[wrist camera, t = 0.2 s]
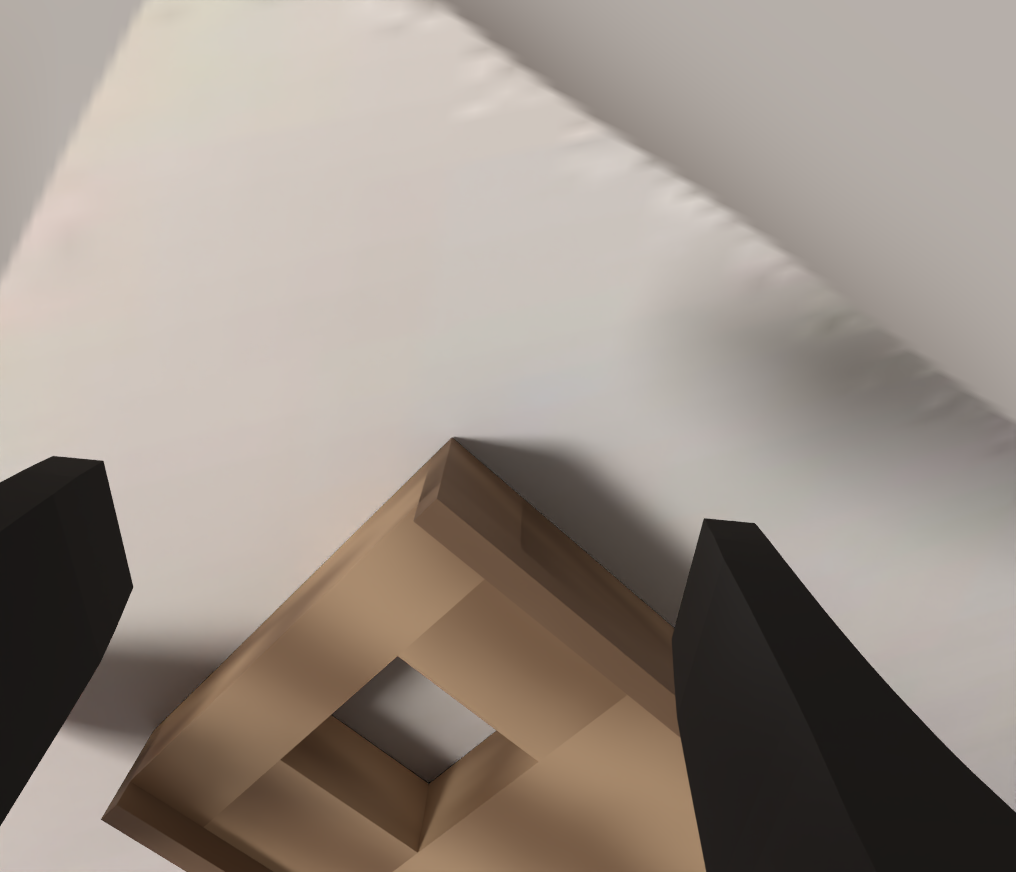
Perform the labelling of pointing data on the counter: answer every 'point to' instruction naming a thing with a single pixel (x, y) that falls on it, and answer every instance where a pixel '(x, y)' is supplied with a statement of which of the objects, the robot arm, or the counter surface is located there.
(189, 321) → the counter surface
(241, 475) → the counter surface
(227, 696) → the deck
